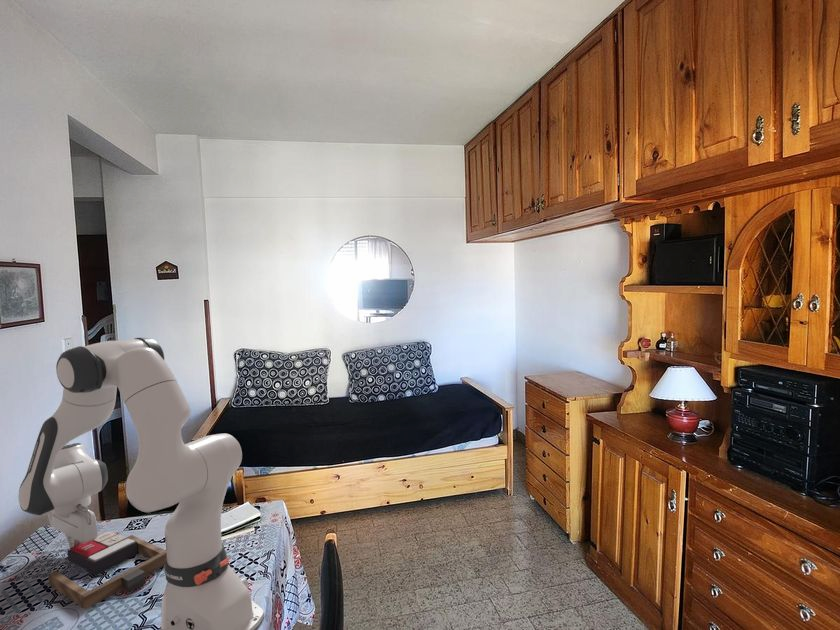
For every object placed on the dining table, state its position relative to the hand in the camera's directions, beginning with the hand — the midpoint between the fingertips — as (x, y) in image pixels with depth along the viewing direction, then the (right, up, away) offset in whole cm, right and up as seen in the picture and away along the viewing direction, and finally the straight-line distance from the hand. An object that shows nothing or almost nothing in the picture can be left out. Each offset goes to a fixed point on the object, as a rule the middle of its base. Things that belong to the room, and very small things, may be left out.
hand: (75, 548), depth 128 cm
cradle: (+18, -2, -10) cm, 21 cm away
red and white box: (+9, -2, -2) cm, 10 cm away
